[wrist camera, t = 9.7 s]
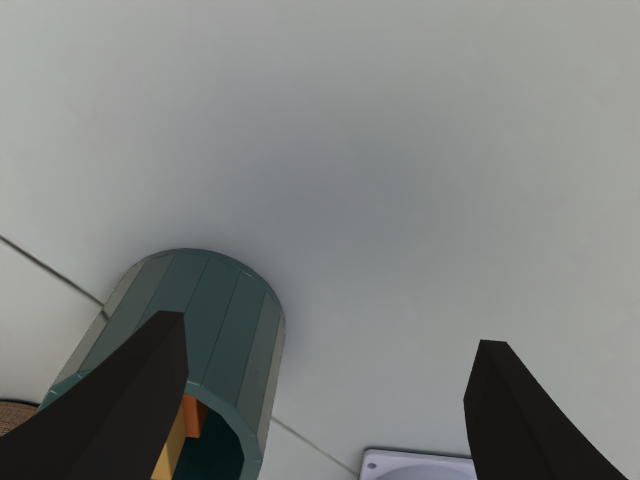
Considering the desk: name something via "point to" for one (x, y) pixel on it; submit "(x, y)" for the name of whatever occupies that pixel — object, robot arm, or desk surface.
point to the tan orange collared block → (180, 435)
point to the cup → (201, 352)
